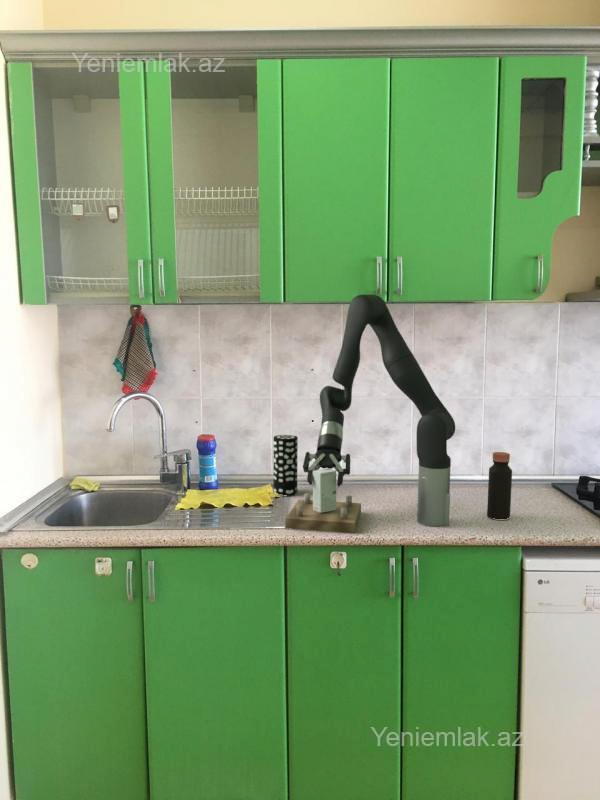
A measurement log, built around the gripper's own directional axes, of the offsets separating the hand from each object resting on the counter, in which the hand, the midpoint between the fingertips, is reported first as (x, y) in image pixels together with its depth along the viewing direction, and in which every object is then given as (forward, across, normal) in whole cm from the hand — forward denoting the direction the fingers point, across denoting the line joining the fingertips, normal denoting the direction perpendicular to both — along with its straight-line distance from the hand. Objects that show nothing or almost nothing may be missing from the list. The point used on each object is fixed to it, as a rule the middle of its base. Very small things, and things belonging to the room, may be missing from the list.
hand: (324, 484), depth 183 cm
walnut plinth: (+7, 0, +9) cm, 12 cm away
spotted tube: (-12, -18, +28) cm, 36 cm away
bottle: (-3, +52, +19) cm, 55 cm away
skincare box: (+5, 0, +7) cm, 9 cm away
